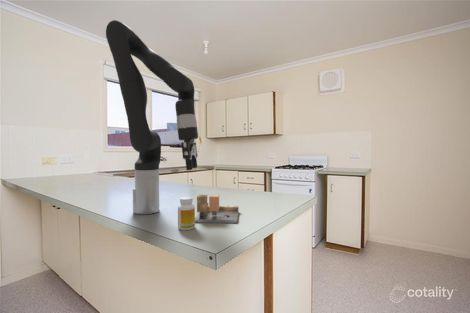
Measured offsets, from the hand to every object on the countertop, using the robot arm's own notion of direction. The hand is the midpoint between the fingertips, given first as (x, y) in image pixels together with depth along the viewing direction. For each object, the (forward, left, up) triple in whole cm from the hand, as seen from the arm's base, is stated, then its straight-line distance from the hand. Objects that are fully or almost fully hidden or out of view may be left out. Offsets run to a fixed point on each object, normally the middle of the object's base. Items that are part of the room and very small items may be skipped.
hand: (192, 168), depth 91 cm
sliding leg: (+9, -5, -16) cm, 20 cm away
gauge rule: (+10, -2, -18) cm, 21 cm away
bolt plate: (+10, -4, -18) cm, 21 cm away
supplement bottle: (+2, -15, -18) cm, 24 cm away
